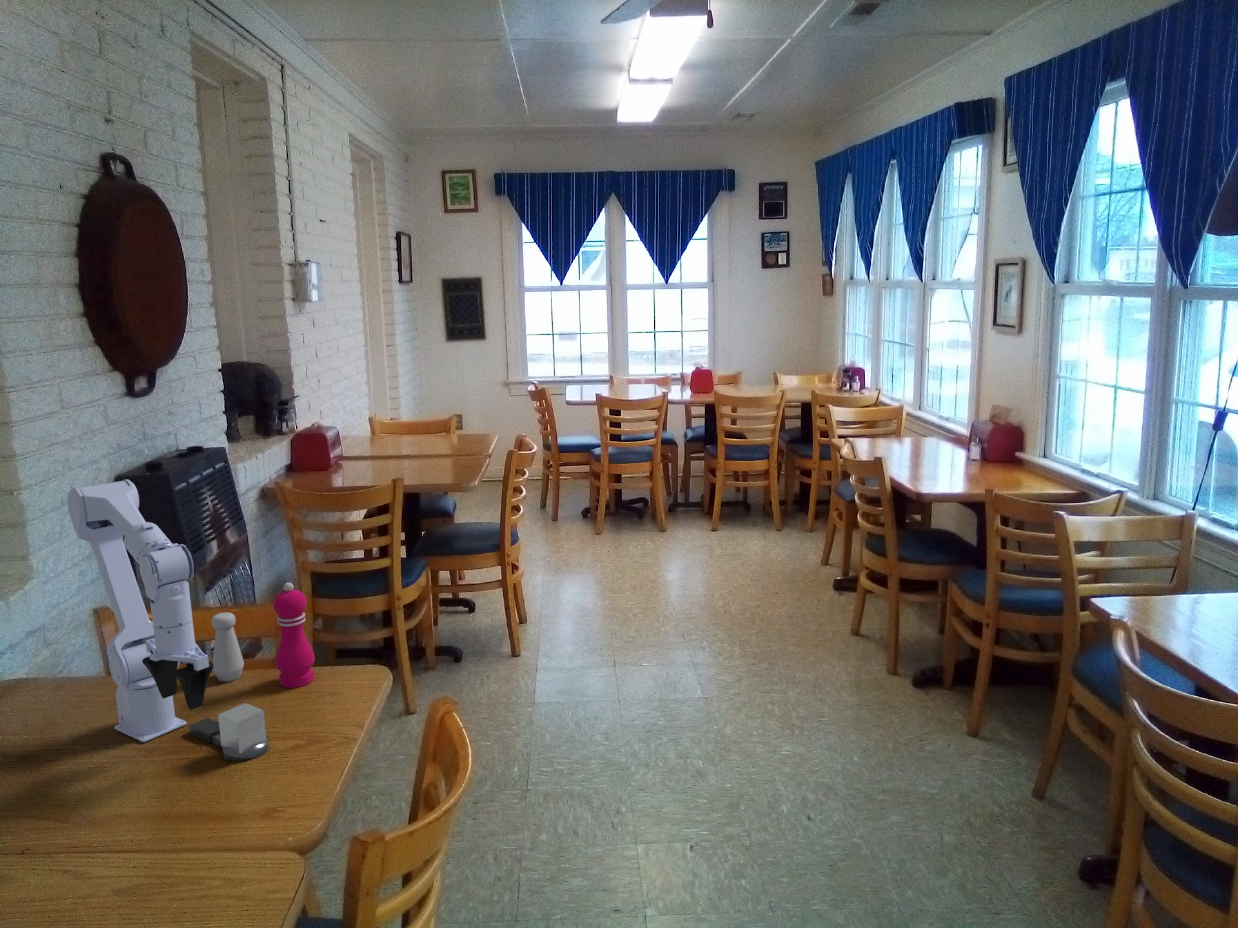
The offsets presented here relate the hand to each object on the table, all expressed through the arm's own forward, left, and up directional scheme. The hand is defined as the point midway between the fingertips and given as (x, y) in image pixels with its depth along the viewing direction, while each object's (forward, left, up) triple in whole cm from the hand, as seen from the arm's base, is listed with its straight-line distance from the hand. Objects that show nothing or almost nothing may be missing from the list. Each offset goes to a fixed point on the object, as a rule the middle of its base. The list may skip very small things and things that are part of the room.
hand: (182, 701), depth 150 cm
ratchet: (+2, +6, -9) cm, 11 cm away
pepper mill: (-9, +28, -10) cm, 31 cm away
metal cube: (+7, +6, -8) cm, 12 cm away
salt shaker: (-22, +22, -10) cm, 33 cm away
